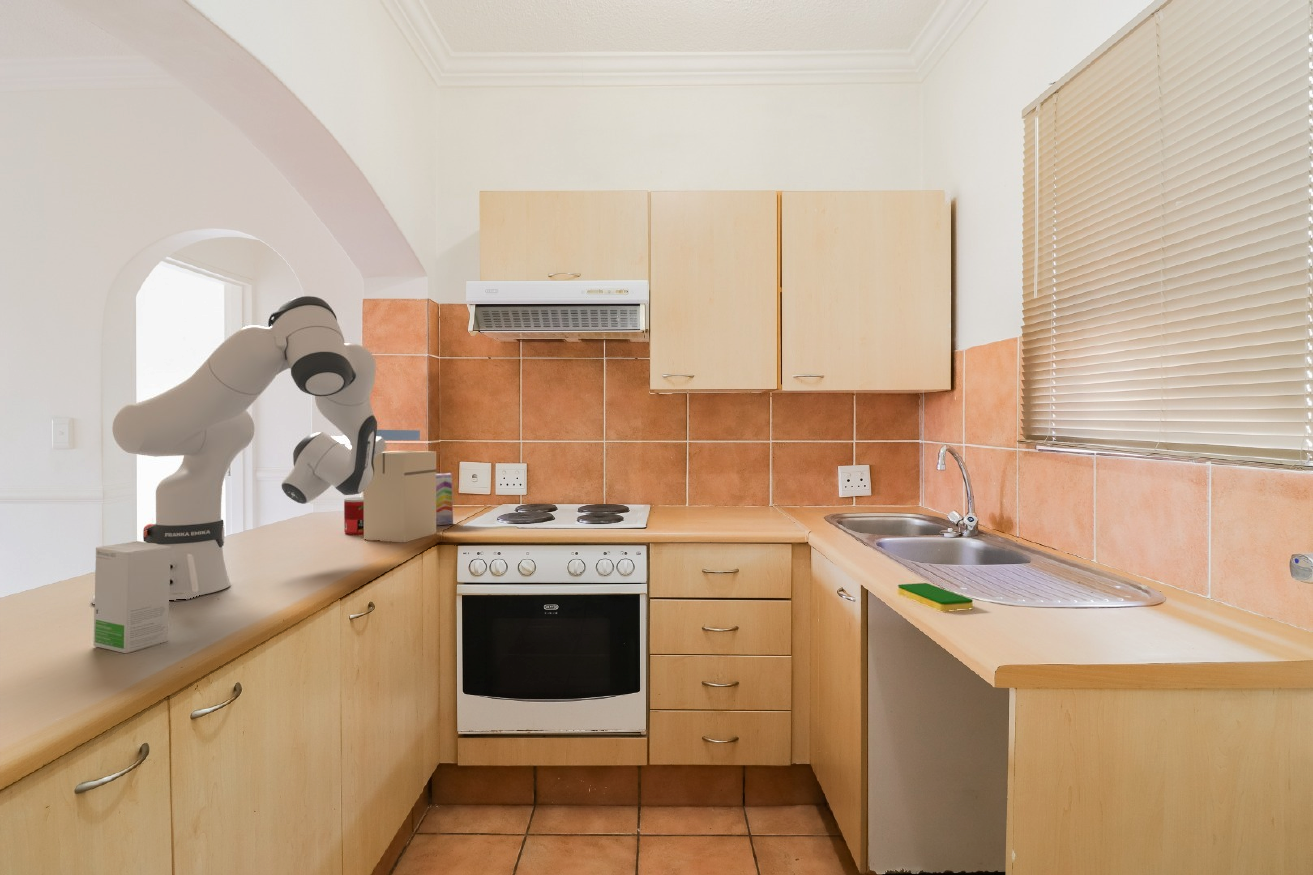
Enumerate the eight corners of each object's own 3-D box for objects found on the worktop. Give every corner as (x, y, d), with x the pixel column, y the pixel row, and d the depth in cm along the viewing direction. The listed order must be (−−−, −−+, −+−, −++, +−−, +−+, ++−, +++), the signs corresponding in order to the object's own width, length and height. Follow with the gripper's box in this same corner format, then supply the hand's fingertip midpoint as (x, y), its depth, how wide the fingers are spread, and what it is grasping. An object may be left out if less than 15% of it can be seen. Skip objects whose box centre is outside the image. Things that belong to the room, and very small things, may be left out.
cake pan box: (392, 528, 217) (392, 475, 217) (393, 526, 222) (392, 474, 222) (453, 525, 224) (453, 473, 224) (452, 523, 229) (452, 472, 229)
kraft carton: (404, 542, 192) (404, 453, 191) (363, 539, 195) (363, 452, 195) (436, 533, 207) (436, 451, 207) (397, 531, 211) (397, 450, 210)
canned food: (361, 535, 203) (361, 500, 203) (338, 534, 204) (338, 499, 204) (376, 531, 210) (376, 497, 210) (354, 530, 212) (354, 496, 212)
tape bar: (363, 440, 181) (363, 429, 181) (351, 440, 182) (351, 429, 182) (419, 440, 205) (419, 430, 205) (408, 439, 206) (408, 430, 206)
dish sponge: (942, 614, 124) (942, 601, 124) (897, 595, 137) (897, 584, 137) (973, 612, 126) (973, 599, 126) (926, 593, 139) (926, 582, 139)
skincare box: (92, 647, 102) (91, 547, 101) (139, 634, 108) (138, 540, 108) (127, 654, 99) (126, 551, 98) (173, 640, 105) (172, 543, 105)
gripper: (363, 449, 169) (393, 423, 180) (298, 448, 174) (332, 422, 185) (371, 470, 172) (401, 442, 183) (307, 468, 177) (340, 441, 189)
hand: (365, 432), depth 184 cm, fingers closed on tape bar, 4 cm apart
